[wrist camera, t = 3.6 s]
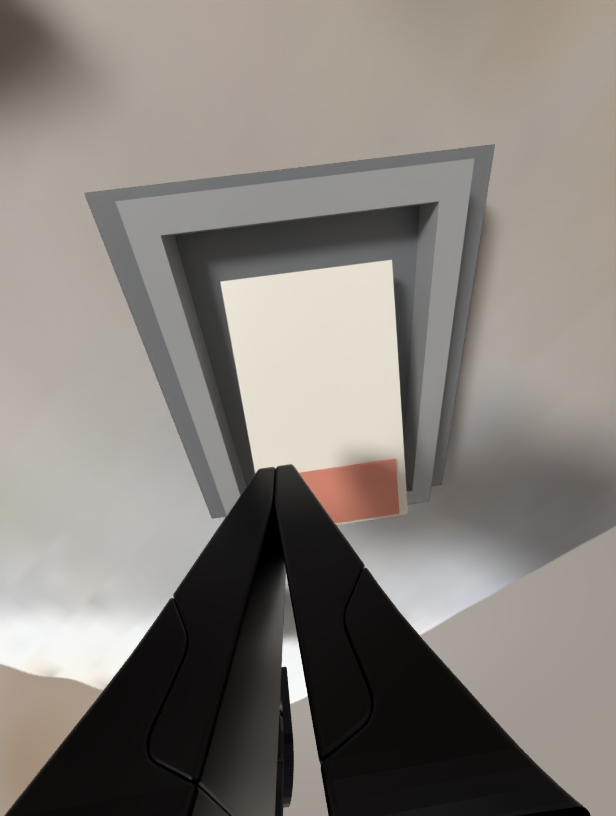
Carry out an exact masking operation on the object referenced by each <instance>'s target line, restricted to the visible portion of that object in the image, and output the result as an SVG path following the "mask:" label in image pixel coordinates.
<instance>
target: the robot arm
mask: <svg viewBox="0 0 616 816" xmlns="http://www.w3.org/2000/svg"><path fill="white" fill-rule="evenodd" d="M286 574H287V579H288V585H289V591H290V597H291V602H292V608H293V614H294V619H295V625H296V631H297V637H298V642H299V648H300V654H301V659H302V665H303V671H304V677H305V682H306V688H307V694H308V699H309V705H310V711H311V716H312V722H313V728H314V734H315V739H316V745H317V751H318V756H319V760H320V764H321V773H322V779H323V785H324V791H325V797H326V803H327V808H328V814H329V816H590V813H589V811H588V810H587V809H586V808H585V807H583V806H582V805H581V804H580V803H578V802H577V801H576V800H575V799H574V798H573V797H571V796H570V795H569V794H568V793H567V792H566V791H565V790H563V789H562V788H561V787H560V786H559V785H558V784H557V783H556V782H555V781H554V780H553V779H552V778H551V777H550V776H548V775H547V774H546V773H545V772H544V771H543V770H542V769H541V768H540V767H539V766H538V765H537V764H536V763H535V762H534V761H533V760H532V759H531V758H530V757H529V756H528V755H527V754H526V753H525V752H524V751H523V750H522V749H521V748H520V747H519V746H518V745H517V744H516V743H515V741H514V740H513V739H512V738H511V737H510V736H509V735H508V734H507V733H506V732H505V731H504V730H503V728H501V726H500V725H499V724H498V723H497V722H496V721H495V719H494V718H493V717H492V716H491V715H490V714H489V713H488V712H487V711H486V710H485V709H484V707H483V706H482V705H481V704H480V703H479V702H478V701H477V699H476V698H475V697H474V696H473V695H472V694H471V693H470V692H469V691H468V689H467V688H466V687H465V686H464V685H463V684H462V683H461V682H460V680H459V679H458V678H457V677H456V676H455V675H454V674H453V673H452V671H451V670H450V669H449V668H448V667H447V666H446V665H445V664H444V663H443V661H442V660H441V659H440V658H439V657H438V656H437V655H436V654H435V652H434V651H433V650H432V649H431V648H430V647H429V646H428V645H427V644H426V642H425V641H424V640H423V639H422V638H421V637H420V635H419V634H418V633H417V632H416V631H415V629H414V628H413V627H412V626H411V625H410V624H409V622H408V621H407V620H406V619H405V618H404V617H403V615H402V614H401V613H400V612H399V611H398V609H397V608H396V607H395V605H394V604H393V603H392V601H391V600H390V599H389V597H388V596H387V595H386V594H385V592H384V591H383V590H382V588H381V587H380V586H379V584H378V583H377V581H376V580H375V579H374V577H373V576H372V574H371V573H370V572H369V570H368V569H367V568H365V566H364V564H363V562H362V561H361V559H360V558H359V557H358V555H357V554H356V552H355V551H354V550H353V548H352V547H351V545H350V544H349V542H348V541H347V540H346V538H345V537H344V535H343V534H342V533H341V531H340V530H339V528H338V527H337V526H336V524H335V523H334V521H333V520H332V519H331V517H330V516H329V514H328V513H327V512H326V510H325V509H324V507H323V506H322V505H321V503H320V502H319V500H318V499H317V497H316V496H315V495H314V493H313V492H312V490H311V489H310V488H309V486H308V485H307V483H306V482H305V481H304V479H303V478H302V476H301V475H300V474H299V472H298V471H297V469H296V468H295V467H294V465H292V464H287V465H280V466H277V468H275V467H267V468H261V469H259V470H258V471H257V472H256V473H255V475H254V476H253V478H252V479H251V481H250V482H249V484H248V485H247V487H246V488H245V490H244V491H243V493H242V494H241V496H240V497H239V498H238V500H237V501H236V503H235V504H234V506H233V507H232V509H231V510H230V512H229V513H228V515H227V516H226V518H225V519H224V521H223V522H222V524H221V525H220V526H219V528H218V529H217V531H216V532H215V534H214V535H213V537H212V538H211V540H210V541H209V543H208V544H207V546H206V547H205V549H204V550H203V551H202V553H201V554H200V556H199V557H198V559H197V560H196V562H195V563H194V565H193V566H192V568H191V569H190V571H189V572H188V574H187V575H186V576H185V578H184V579H183V581H182V582H181V584H180V585H179V587H178V588H177V590H176V591H175V593H174V594H173V597H174V598H171V599H170V600H169V601H168V603H167V604H166V606H165V607H164V609H163V610H162V612H161V613H160V614H159V616H158V617H157V619H156V620H155V622H154V623H153V625H152V626H151V627H150V629H149V630H148V632H147V633H146V634H145V636H144V637H143V639H142V640H141V641H140V643H139V644H138V646H137V647H136V648H135V650H134V651H133V653H132V654H131V655H130V657H129V658H128V659H127V661H126V662H125V663H124V664H123V666H122V667H121V668H120V670H119V671H118V672H117V674H116V675H115V676H114V677H113V679H112V680H111V681H110V683H109V684H108V685H107V687H106V688H105V689H104V690H103V692H102V693H101V694H100V696H99V697H98V698H97V700H96V701H95V702H94V703H93V705H92V706H91V707H90V708H89V710H88V711H87V712H86V714H85V715H84V716H83V717H82V718H81V720H80V721H79V722H78V723H77V725H76V726H75V727H74V728H73V730H72V731H71V732H70V734H69V735H68V736H67V737H66V739H65V740H64V741H63V742H62V744H61V745H60V746H59V747H58V749H57V750H56V751H55V752H54V754H53V755H52V756H51V758H50V759H49V760H48V761H47V763H46V764H45V765H44V766H43V767H42V769H41V770H40V771H39V772H38V774H37V775H36V776H35V777H34V779H33V780H32V781H31V783H30V784H29V785H28V786H27V788H26V789H25V790H24V791H23V793H22V794H21V795H20V796H19V798H18V799H17V800H16V801H15V803H14V804H13V805H12V806H11V808H10V809H9V810H8V811H7V813H6V814H5V815H4V816H283V808H284V807H289V805H290V802H291V797H292V787H293V770H294V769H293V767H294V751H293V733H292V723H291V711H290V700H289V689H288V678H287V668H286V667H281V665H282V643H283V620H284V598H285V576H286Z"/></svg>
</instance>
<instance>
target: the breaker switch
mask: <svg viewBox="0 0 616 816" xmlns="http://www.w3.org/2000/svg"><path fill="white" fill-rule="evenodd" d="M220 283H221V289H222V294H223V299H224V305H225V310H226V316H227V321H228V327H229V332H230V338H231V343H232V349H233V354H234V360H235V365H236V371H237V376H238V382H239V387H240V393H241V398H242V404H243V409H244V415H245V420H246V426H247V431H248V437H249V442H250V448H251V453H252V459H253V464H254V470H255V473H256V472H257V471H258V470H259V469H261V468H267V467H275V468H277V466H280V465H287V464H292V465H294V467H295V468H296V469H297V471H298V472H299V474H300V475H301V476H302V478H303V479H304V481H305V482H306V483H307V485H308V486H309V488H310V489H311V490H312V492H313V493H314V495H315V496H316V497H317V499H318V500H319V502H320V503H321V505H322V506H323V507H324V509H325V510H326V512H327V513H328V514H329V516H330V517H331V519H332V520H333V521H334V523H335V524H336V525H342V524H349V523H355V522H362V521H369V520H375V519H382V518H389V517H395V516H402V515H408V508H407V492H406V476H405V460H404V444H403V428H402V412H401V396H400V380H399V364H398V348H397V332H396V316H395V300H394V284H393V268H392V260H386V261H378V262H370V263H362V264H355V265H347V266H339V267H331V268H323V269H315V270H307V271H300V272H292V273H284V274H276V275H268V276H260V277H253V278H245V279H237V280H229V281H221V282H220Z"/></svg>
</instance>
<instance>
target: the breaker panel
mask: <svg viewBox="0 0 616 816" xmlns="http://www.w3.org/2000/svg"><path fill="white" fill-rule="evenodd" d="M494 147H495V144H493V145H485V146H476V147H468V148H459V149H451V150H443V151H434V152H426V153H417V154H409V155H400V156H392V157H384V158H375V159H367V160H358V161H350V162H341V163H333V164H325V165H316V166H308V167H299V168H291V169H282V170H274V171H266V172H257V173H249V174H240V175H232V176H223V177H215V178H206V179H198V180H190V181H181V182H173V183H164V184H156V185H147V186H139V187H131V188H122V189H114V190H105V191H97V192H88V193H84V194H85V196H86V199H87V201H88V204H89V207H90V209H91V212H92V214H93V217H94V219H95V222H96V224H97V227H98V229H99V232H100V235H101V237H102V240H103V242H104V245H105V247H106V250H107V252H108V255H109V257H110V260H111V263H112V265H113V268H114V270H115V273H116V275H117V278H118V280H119V283H120V286H121V288H122V291H123V293H124V296H125V298H126V301H127V303H128V306H129V308H130V311H131V314H132V316H133V319H134V321H135V324H136V326H137V329H138V331H139V334H140V336H141V339H142V342H143V344H144V347H145V349H146V352H147V354H148V357H149V359H150V362H151V364H152V367H153V370H154V372H155V375H156V377H157V380H158V382H159V385H160V387H161V390H162V393H163V395H164V398H165V400H166V403H167V405H168V408H169V410H170V413H171V415H172V418H173V421H174V423H175V426H176V428H177V431H178V433H179V436H180V438H181V441H182V443H183V446H184V449H185V451H186V454H187V456H188V459H189V461H190V464H191V466H192V469H193V471H194V474H195V477H196V479H197V482H198V484H199V487H200V489H201V492H202V494H203V497H204V500H205V502H206V505H207V507H208V510H209V512H210V515H211V517H212V518H219V517H226V516H227V515H228V513H229V512H230V510H231V509H232V507H233V506H234V504H235V503H236V501H237V500H238V498H239V497H240V496H241V494H242V493H243V491H244V490H245V488H246V487H247V485H248V484H249V482H250V481H251V479H252V478H253V476H254V475H255V470H254V464H253V459H252V453H251V448H250V442H249V437H248V431H247V426H246V420H245V415H244V409H243V404H242V398H241V393H240V387H239V382H238V376H237V371H236V365H235V360H234V354H233V349H232V343H231V338H230V332H229V327H228V321H227V316H226V310H225V305H224V299H223V294H222V289H221V283H220V282H221V281H229V280H237V279H245V278H253V277H260V276H268V275H276V274H284V273H292V272H300V271H307V270H315V269H323V268H331V267H339V266H347V265H355V264H362V263H370V262H378V261H386V260H392V268H393V284H394V300H395V316H396V332H397V348H398V364H399V380H400V396H401V412H402V428H403V444H404V460H405V476H406V492H407V504H414V503H421V502H427V501H429V497H430V490H431V486H436V485H442V479H443V473H444V466H445V460H446V454H447V447H448V441H449V434H450V428H451V422H452V415H453V409H454V403H455V396H456V390H457V383H458V377H459V371H460V364H461V358H462V351H463V345H464V339H465V332H466V326H467V319H468V313H469V307H470V300H471V294H472V287H473V281H474V275H475V268H476V262H477V255H478V249H479V243H480V236H481V230H482V224H483V217H484V211H485V204H486V198H487V192H488V185H489V179H490V172H491V166H492V160H493V153H494Z"/></svg>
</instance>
